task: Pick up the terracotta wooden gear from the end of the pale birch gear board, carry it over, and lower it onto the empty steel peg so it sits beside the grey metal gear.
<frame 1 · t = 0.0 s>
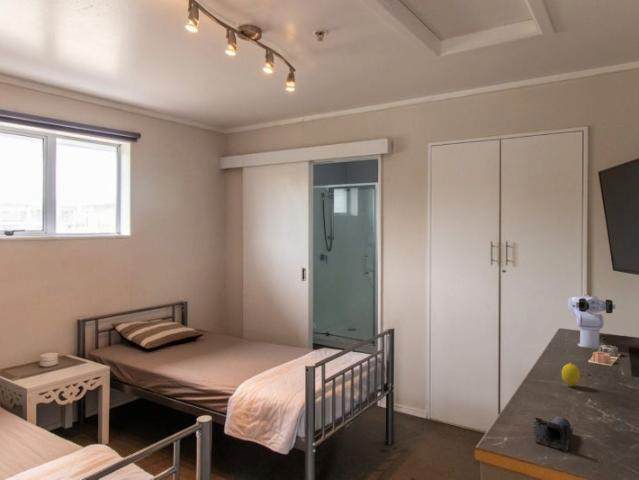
hand: (598, 306, 185), 22 cm above the counter, tool horizontal, fingers open, 7 cm apart
black camera: (556, 440, 117), on the counter
gear: (601, 361, 179), point 1 cm above the counter, touching board
lemon: (570, 387, 155), on the counter
board: (604, 361, 184), on the counter
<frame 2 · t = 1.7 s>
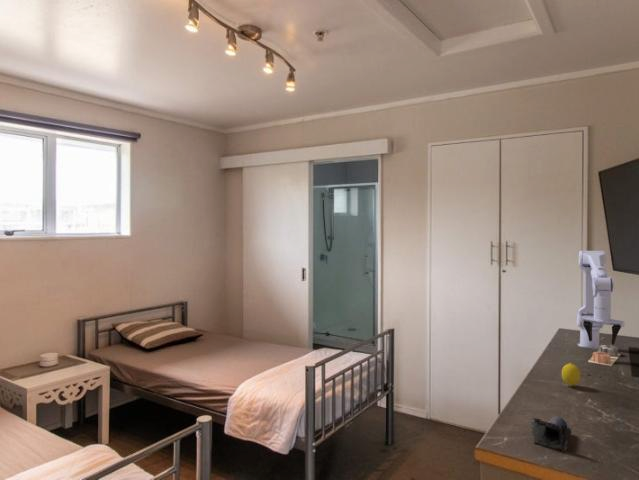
hand: (601, 342, 179), 9 cm above the counter, tool pointing down, fingers open, 7 cm apart
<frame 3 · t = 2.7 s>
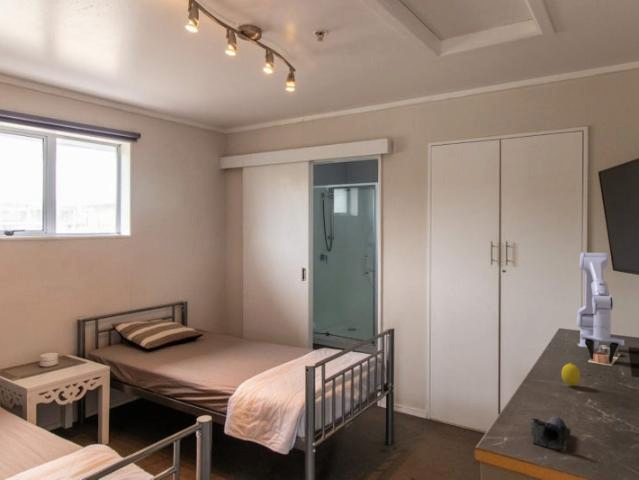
hand: (601, 360, 179), 2 cm above the counter, tool pointing down, fingers closed on gear, 6 cm apart
gear: (601, 361, 179), point 1 cm above the counter, touching board, gripper
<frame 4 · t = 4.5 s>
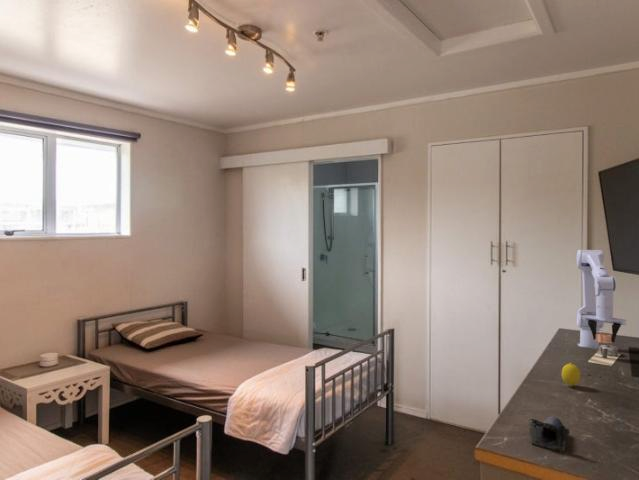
hand: (604, 340, 183), 9 cm above the counter, tool pointing down, fingers closed on gear, 6 cm apart
gear: (603, 341, 182), point 8 cm above the counter, touching gripper
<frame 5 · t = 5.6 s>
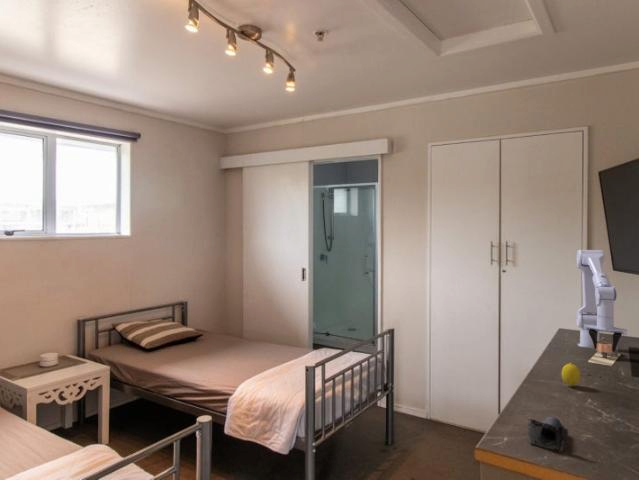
hand: (604, 349, 184), 5 cm above the counter, tool pointing down, fingers closed on gear, 6 cm apart
gear: (604, 350, 184), point 4 cm above the counter, touching gripper
when the fingers open (4 cm above the counter, at t = 6.4 s): gear drops 2 cm, resting on board.
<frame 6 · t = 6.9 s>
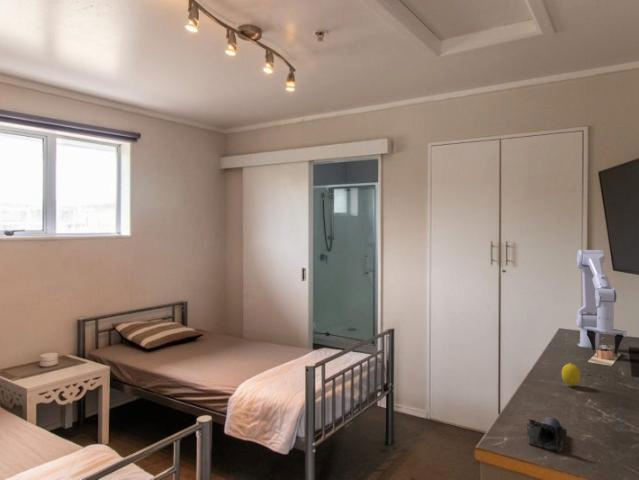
hand: (604, 351, 184), 4 cm above the counter, tool pointing down, fingers open, 7 cm apart
gear: (604, 357, 184), point 1 cm above the counter, touching board
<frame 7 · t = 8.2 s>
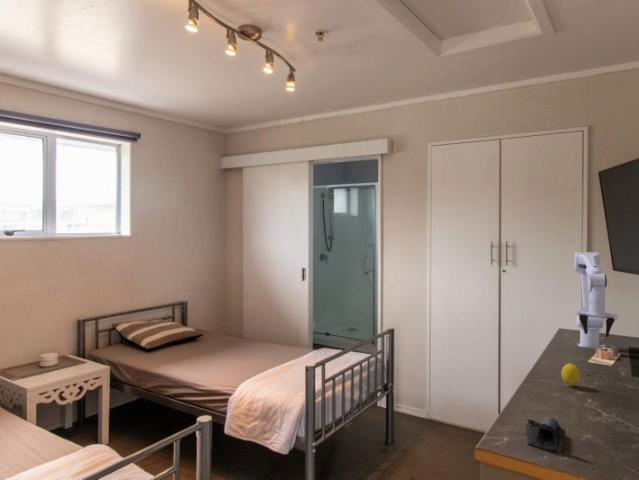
hand: (596, 334, 189), 9 cm above the counter, tool pointing down, fingers open, 7 cm apart
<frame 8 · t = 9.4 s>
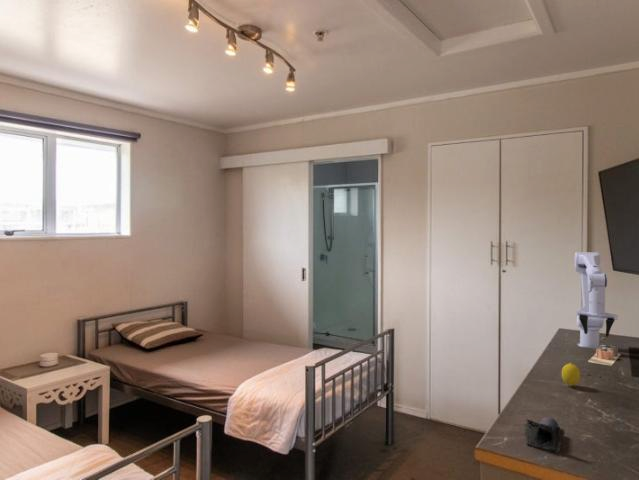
hand: (596, 334, 189), 9 cm above the counter, tool pointing down, fingers open, 7 cm apart
at the end: gear 0.0 cm off-centre on the board, point 1.5 cm above the board's base; gear tilted 0°; the gripper is holding nothing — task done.
